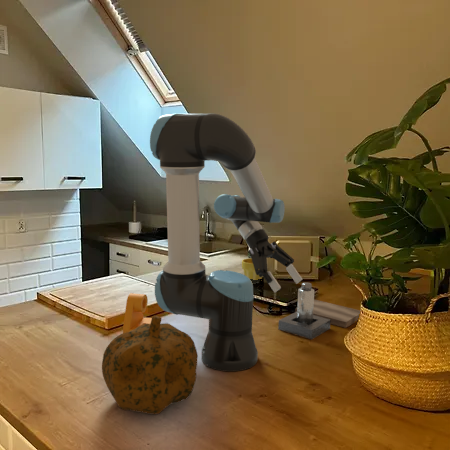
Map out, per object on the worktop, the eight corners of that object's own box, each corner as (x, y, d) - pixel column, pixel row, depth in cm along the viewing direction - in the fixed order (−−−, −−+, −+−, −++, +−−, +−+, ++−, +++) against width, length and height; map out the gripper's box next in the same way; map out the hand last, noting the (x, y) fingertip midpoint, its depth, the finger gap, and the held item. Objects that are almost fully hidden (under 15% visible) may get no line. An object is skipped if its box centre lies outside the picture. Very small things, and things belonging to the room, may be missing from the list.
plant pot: (256, 287, 190) (257, 264, 188) (236, 282, 196) (237, 260, 194) (269, 282, 198) (270, 260, 196) (250, 278, 204) (250, 257, 202)
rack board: (345, 328, 146) (346, 322, 146) (295, 314, 158) (295, 308, 158) (363, 317, 157) (363, 311, 157) (314, 304, 169) (314, 299, 169)
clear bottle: (307, 333, 141) (309, 286, 139) (293, 329, 144) (295, 283, 142) (315, 328, 145) (317, 283, 143) (301, 324, 148) (303, 280, 146)
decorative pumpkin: (107, 374, 110) (113, 296, 106) (193, 380, 112) (201, 304, 108) (88, 426, 90) (94, 333, 87) (193, 432, 92) (203, 341, 88)
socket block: (311, 339, 136) (312, 330, 136) (278, 329, 144) (278, 320, 143) (330, 328, 145) (330, 319, 145) (297, 319, 153) (298, 311, 152)
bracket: (145, 340, 133) (145, 301, 132) (123, 337, 135) (122, 298, 133) (158, 326, 144) (158, 290, 142) (137, 324, 145) (136, 288, 143)
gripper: (267, 236, 167) (300, 284, 160) (224, 246, 148) (260, 300, 141) (280, 224, 163) (315, 272, 156) (238, 232, 144) (275, 287, 137)
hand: (289, 285), depth 148 cm, fingers open, 13 cm apart
